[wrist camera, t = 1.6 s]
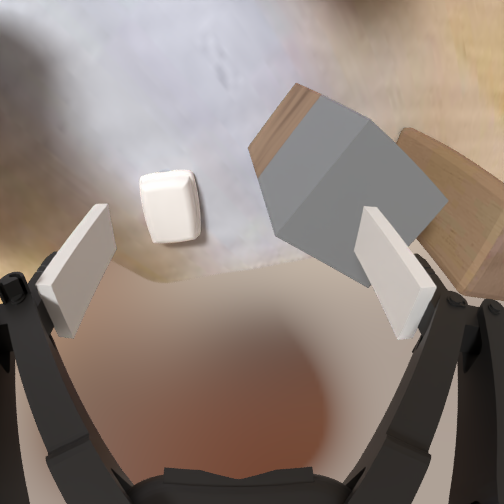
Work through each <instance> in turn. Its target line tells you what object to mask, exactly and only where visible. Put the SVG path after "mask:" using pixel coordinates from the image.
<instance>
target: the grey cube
mask: <svg viewBox="0 0 504 504" xmlns="http://www.w3.org/2000/svg"><path fill="white" fill-rule="evenodd" d="M258 181H259V185H260V188H261V191H262V194H263V197H264V201H265V204H266V207H267V211H268V214H269V217H270V220H271V224H272V227H273V230H274V234H275V236H276V237H278V238H280V239H282V240H283V241H285V242H287V243H289V244H291V245H292V246H294V247H296V248H298V249H300V250H302V251H303V252H305V253H307V254H309V255H311V256H312V257H314V258H316V259H318V260H320V261H321V262H323V263H325V264H327V265H329V266H330V267H332V268H334V269H336V270H338V271H339V272H341V273H343V274H344V275H346V276H348V277H350V278H352V279H353V280H355V281H357V282H359V283H360V284H362V285H364V286H366V287H367V288H369V287H370V286H371V283H370V281H369V279H368V277H367V275H366V273H365V271H364V269H363V267H362V265H361V263H360V262H359V260H358V258H357V256H356V254H355V252H354V248H355V244H356V240H357V235H358V231H359V226H360V222H361V217H362V212H363V208H364V206H369V207H377V208H378V209H379V210H380V212H381V213H382V214H383V215H384V216H385V218H386V219H387V220H388V221H389V223H390V224H391V225H392V227H393V228H394V229H395V230H396V232H397V233H398V234H399V236H400V237H401V238H402V239H403V241H404V242H405V243H406V245H407V246H409V245H410V244H411V243H412V242H413V241H414V240H415V239H416V238H417V237H418V236H419V234H420V233H421V232H422V231H423V230H424V229H425V228H426V227H427V226H428V224H429V223H430V222H431V221H432V220H433V219H434V218H435V216H436V215H437V214H438V213H439V212H440V211H441V209H442V208H443V207H444V206H445V205H446V204H447V202H448V201H449V200H448V199H447V198H446V197H445V196H444V194H443V193H442V192H441V191H440V190H439V189H438V188H437V186H436V185H435V184H434V183H433V182H432V181H431V180H430V179H429V177H428V176H427V175H426V174H425V173H424V172H423V171H422V170H421V169H420V168H419V167H418V166H417V165H416V164H415V162H414V161H413V160H412V159H411V158H410V157H409V156H408V155H407V154H406V153H405V152H404V151H403V150H402V149H401V148H400V147H399V146H398V145H397V144H396V143H395V142H394V141H393V140H392V139H391V138H390V137H389V136H388V135H387V134H385V133H384V132H383V131H382V130H381V129H380V128H379V127H378V126H377V125H376V124H375V123H374V122H373V121H371V120H370V119H369V118H367V117H365V116H363V115H361V114H360V113H358V112H356V111H354V110H352V109H350V108H348V107H346V106H344V105H342V104H340V103H338V102H336V101H334V100H332V99H330V98H328V97H326V96H324V95H321V96H320V97H319V99H318V100H317V101H316V103H315V104H314V105H313V106H312V108H311V109H310V110H309V112H308V113H307V114H306V115H305V117H304V118H303V119H302V121H301V122H300V123H299V124H298V126H297V127H296V128H295V130H294V131H293V132H292V134H291V135H290V136H289V138H288V139H287V140H286V141H285V143H284V144H283V145H282V147H281V148H280V149H279V151H278V152H277V153H276V155H275V156H274V157H273V159H272V160H271V161H270V163H269V164H268V165H267V167H266V168H265V169H264V171H263V172H262V173H261V175H260V176H259V178H258Z"/></svg>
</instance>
